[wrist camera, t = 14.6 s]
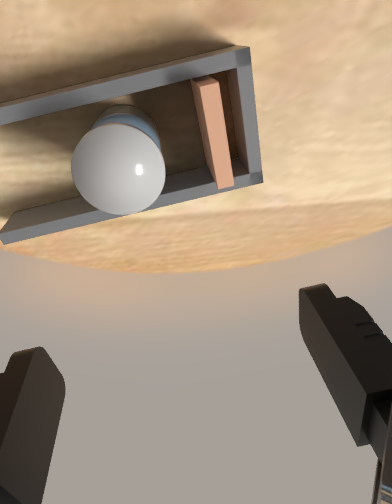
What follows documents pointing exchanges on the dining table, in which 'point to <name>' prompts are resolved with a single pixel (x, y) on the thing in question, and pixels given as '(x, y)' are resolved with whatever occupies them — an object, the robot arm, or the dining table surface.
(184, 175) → the lane
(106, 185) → the jar
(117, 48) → the dining table surface
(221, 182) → the block
